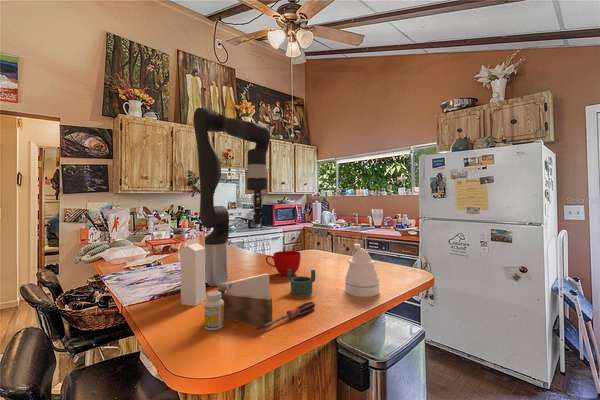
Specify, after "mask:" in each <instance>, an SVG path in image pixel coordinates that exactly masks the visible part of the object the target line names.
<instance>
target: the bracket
mask: <svg viewBox="0 0 600 400" xmlns="http://www.w3.org/2000/svg"><path fill="white" fill-rule="evenodd" d="M287 281H288V282H290V294H291V295H293V296H297V297H307V296H310V295H312V294H313V283H314V282H316V269H311V271H310V276H305V275H304V276H302V275H301V276H294V277H293V275H292V269H288V276H287ZM306 295H307V296H306Z"/></svg>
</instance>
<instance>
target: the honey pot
mask: <svg viewBox="0 0 600 400" xmlns="http://www.w3.org/2000/svg"><path fill="white" fill-rule="evenodd" d="M353 247H354V249H355V250H356V251H355V252H354V255H353V256H352V258H350V259H349V260H348V261H347V262H348V264H349V266H348V267H347V272H346V275H345V277H344V279H345V283H344V285H345V286H344V287H345V289H344V290H345V292H346V293H347V294H349V295H351V296H353V297H354V296H355V297H362V298H367V297H368V298H369V297H374V296H377V295H379V294H380V278H379V276H378V273H377V269H376V267H375V265H374V264H375V261H374V260H373V259H372V258H371V256H370V253H369V252H368V251H367V250H366V249H365V248H362V247H361V244H360V243H355V244H353Z"/></svg>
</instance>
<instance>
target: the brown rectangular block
mask: <svg viewBox="0 0 600 400" xmlns="http://www.w3.org/2000/svg"><path fill="white" fill-rule="evenodd" d="M219 292H221V296H222V297H221V299H222V300H223V301H224V320H228V321H235V322H242V323H248V324H255V325H261V326H263V325H265V324H267V323H269V322H271V321H273V298H272V297H270V298H266V297H258V296H249V295H240V294H232V293H227V292H226V291H219ZM272 325H273V324H271V325H269V326H268V327H271V326H272Z"/></svg>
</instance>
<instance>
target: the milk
mask: <svg viewBox="0 0 600 400" xmlns="http://www.w3.org/2000/svg"><path fill="white" fill-rule="evenodd" d="M179 254H180V255H179V256H180V257H179V263H180V264H179V267H180V305H183V306H193V307H196V306H198V305H200V304H202V303H203V302H206V301H207V300H206V299H207V293H206V284H205V246H203V245H201V244H200V243H198V238H195V239H192V240H188V241H187V245H186V246H185V247H183V248H181V249H180V251H179Z"/></svg>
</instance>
